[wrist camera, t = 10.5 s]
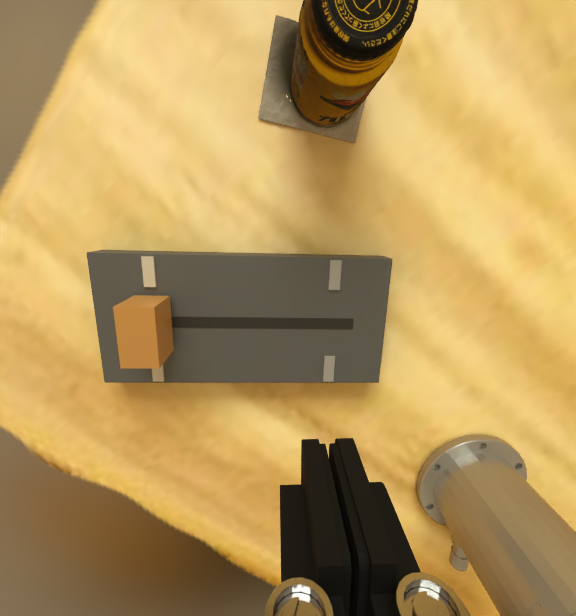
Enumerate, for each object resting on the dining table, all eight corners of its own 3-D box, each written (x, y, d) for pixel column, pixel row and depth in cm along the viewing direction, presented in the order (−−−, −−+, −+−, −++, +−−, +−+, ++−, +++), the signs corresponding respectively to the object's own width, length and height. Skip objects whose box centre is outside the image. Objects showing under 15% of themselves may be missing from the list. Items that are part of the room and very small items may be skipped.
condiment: (354, 143, 28) (412, 88, 16) (258, 119, 27) (247, 41, 15) (377, 47, 26) (462, -94, 14) (275, 17, 25) (278, -157, 13)
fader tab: (169, 295, 27) (154, 307, 24) (173, 349, 29) (159, 368, 25) (134, 295, 27) (112, 306, 24) (139, 349, 29) (120, 368, 25)
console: (382, 256, 30) (393, 259, 28) (371, 370, 33) (379, 383, 31) (102, 250, 29) (85, 252, 26) (117, 370, 32) (103, 383, 30)
